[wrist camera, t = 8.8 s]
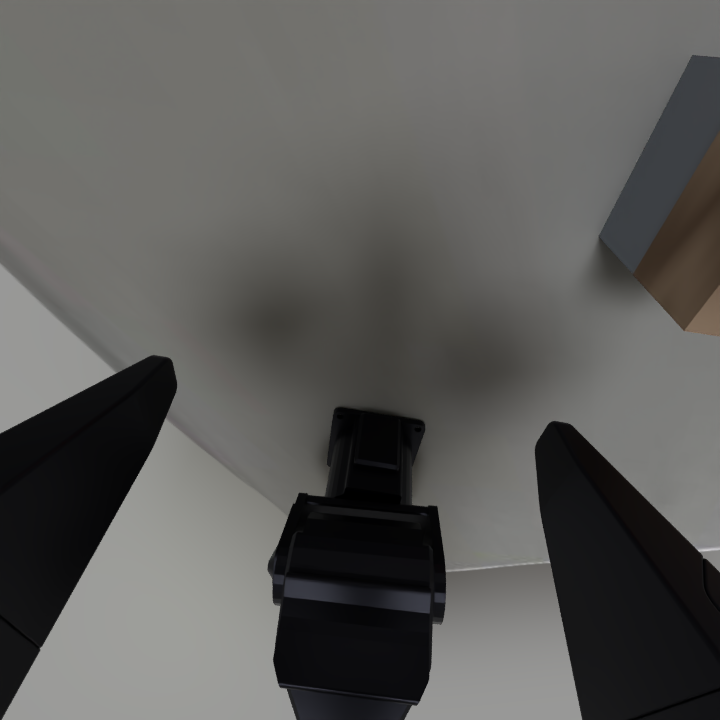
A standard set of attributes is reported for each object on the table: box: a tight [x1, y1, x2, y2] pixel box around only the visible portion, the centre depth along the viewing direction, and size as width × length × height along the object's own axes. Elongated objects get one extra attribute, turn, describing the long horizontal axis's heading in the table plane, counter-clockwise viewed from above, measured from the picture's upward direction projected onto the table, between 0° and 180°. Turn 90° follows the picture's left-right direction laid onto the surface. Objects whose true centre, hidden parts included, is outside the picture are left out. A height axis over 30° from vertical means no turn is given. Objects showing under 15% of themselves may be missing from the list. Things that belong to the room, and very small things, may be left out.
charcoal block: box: [599, 55, 720, 274], centre depth 16 cm, size 7×4×4 cm, turn 173°
